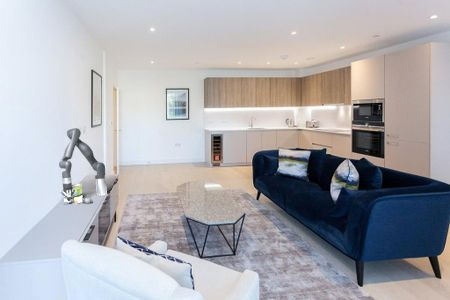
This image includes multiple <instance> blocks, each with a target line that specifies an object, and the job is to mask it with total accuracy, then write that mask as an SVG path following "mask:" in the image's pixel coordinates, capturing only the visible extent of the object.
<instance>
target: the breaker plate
mask: <svg viewBox="0 0 450 300" xmlns="http://www.w3.org/2000/svg"><path fill="white" fill-rule="evenodd" d="M91 203H93V199H91ZM71 204H73V205H75V204H76V205H75V206H79V205H80V204H81V205H86V204H85V198H83V199H82V202H78V201H72V202H71Z"/></svg>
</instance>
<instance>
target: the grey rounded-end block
mask: <svg viewBox="0 0 450 300" xmlns="http://www.w3.org/2000/svg"><path fill="white" fill-rule="evenodd" d="M84 199H85V204H84V205H91V204H92V202H91V200H92V198H91V197H85V198H84Z"/></svg>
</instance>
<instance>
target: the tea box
mask: <svg viewBox="0 0 450 300" xmlns="http://www.w3.org/2000/svg"><path fill="white" fill-rule="evenodd" d="M72 188H73V190H75V192H74V194H73V195H72V196H71V197H70V198H71V200H70V201H67V197H64V196H63V198H64V199H63V200H64V203H72V201H74V198H75V197H79V198H82V199H84V198H83V197H84V196H83V184H82V183H72ZM71 192H72V191H71ZM64 194H65V195H66V193H65V192H64Z"/></svg>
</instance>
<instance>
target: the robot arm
mask: <svg viewBox="0 0 450 300" xmlns="http://www.w3.org/2000/svg"><path fill="white" fill-rule="evenodd" d="M81 133H82V132H81V130H80V128H71V129H68V130H67V131H66V135H67V137H68V139H69V140H70V141H69V142H68V144H67V146H66V148H65V149H64V153H63V156H62V157H61V159H60V161H59V164H58V165H59V168H60V169H65V170H64V171H62V172H61V175H62V176H61V178H62V179H61V181H62V188H63V189H62V191H61V192H60V194H61V195H62V196H63V198H64V197H67V201H70V200H71V198H70V197H71V196H72V195H73V194H74V192H75V190H73V188H72V184H73V183H72V177H71V172H72V166H73V164H72V162H71V161H70V160H71V159H72V158H73V154H74V152H75V151H74V150H75V148H76V147H77V149H78V150H79V151H80V153H81V154H82V155H83V157H84V158H85V160H86V161H88V163H89V164H90V166H91V168H92V169H93V170H94V171H95V172H96V175H94V179H95V180H94V181H95V191H96V196H97V197H102V196H106V195H108V191H107V184H106V166H105V164H104V163H103V162H99V161H98V160H97V159H96V158H95V155H94V152H93V149H92V148H91V146H90V145H88V144H87V143H86V142H84V141H82V140H81V138H80V137H81ZM71 191H72V192H71ZM64 192H65V193H66V195H65V194H64Z"/></svg>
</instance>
